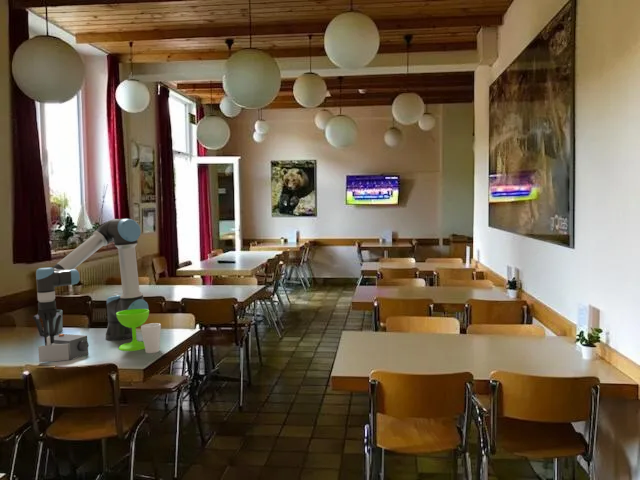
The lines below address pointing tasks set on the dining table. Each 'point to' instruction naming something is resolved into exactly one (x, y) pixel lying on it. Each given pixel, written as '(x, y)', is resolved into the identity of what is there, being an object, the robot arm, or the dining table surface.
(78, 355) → the camera body
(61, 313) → the drinking glass
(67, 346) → the side door
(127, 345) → the wineglass
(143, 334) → the foam cup
